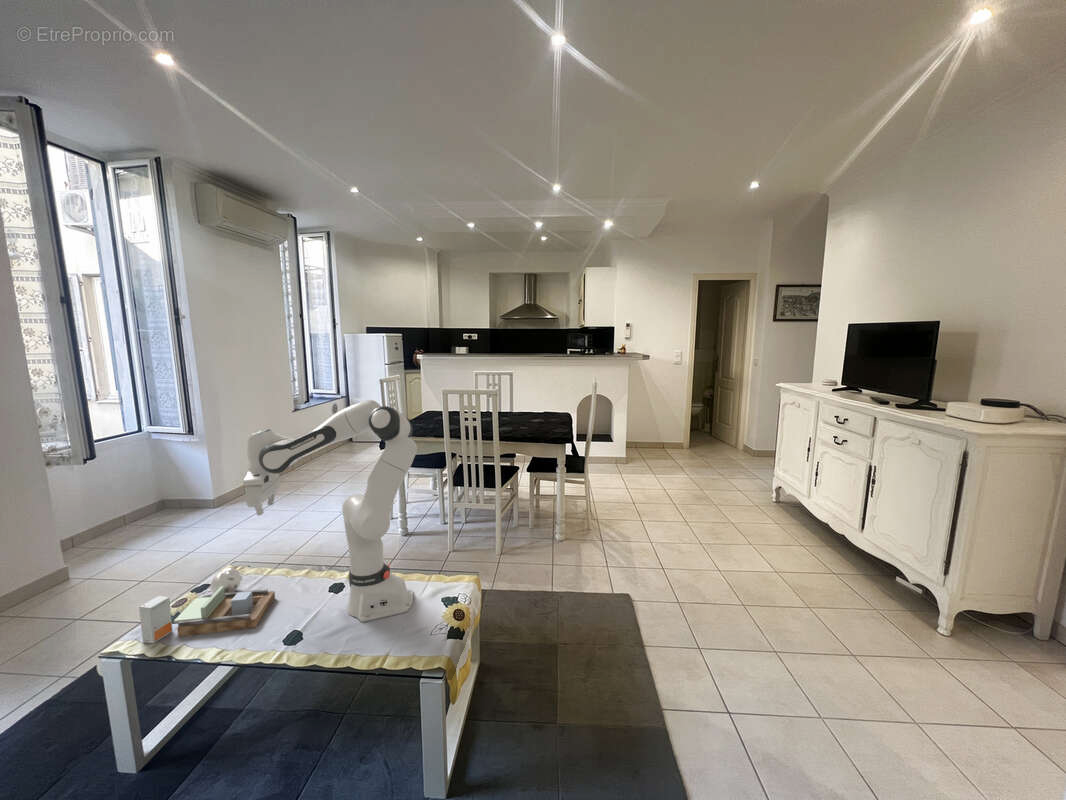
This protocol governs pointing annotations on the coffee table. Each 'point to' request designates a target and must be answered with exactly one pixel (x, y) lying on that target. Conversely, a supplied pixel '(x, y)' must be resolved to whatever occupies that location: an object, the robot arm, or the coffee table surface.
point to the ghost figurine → (227, 580)
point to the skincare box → (155, 619)
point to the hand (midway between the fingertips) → (265, 509)
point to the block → (242, 603)
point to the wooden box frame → (222, 618)
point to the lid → (202, 607)
